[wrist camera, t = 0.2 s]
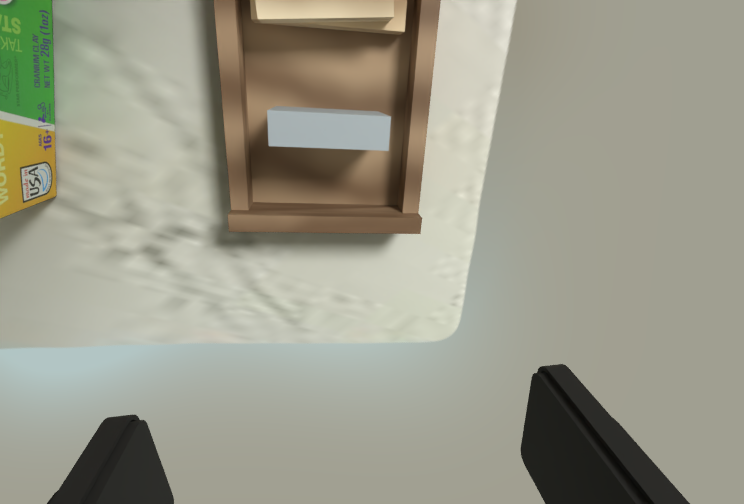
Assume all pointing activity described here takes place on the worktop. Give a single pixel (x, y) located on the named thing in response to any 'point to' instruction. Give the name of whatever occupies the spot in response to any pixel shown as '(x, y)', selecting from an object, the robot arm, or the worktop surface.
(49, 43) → the game box
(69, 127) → the worktop surface
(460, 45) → the worktop surface
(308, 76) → the brown wooden tray
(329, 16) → the offcut stack
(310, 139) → the blue-grey rectangular block
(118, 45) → the worktop surface
